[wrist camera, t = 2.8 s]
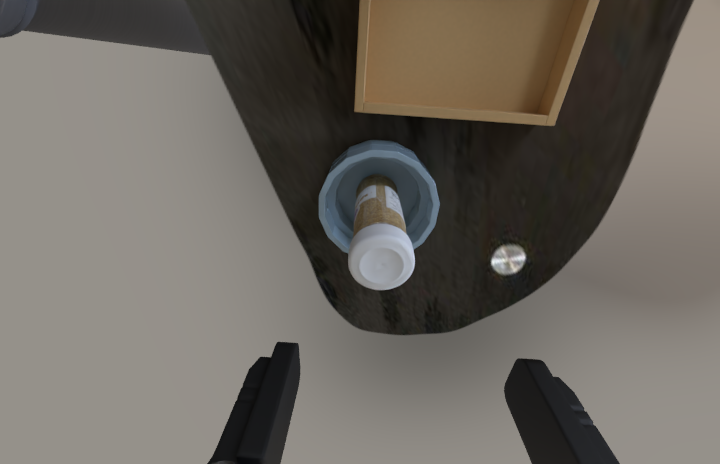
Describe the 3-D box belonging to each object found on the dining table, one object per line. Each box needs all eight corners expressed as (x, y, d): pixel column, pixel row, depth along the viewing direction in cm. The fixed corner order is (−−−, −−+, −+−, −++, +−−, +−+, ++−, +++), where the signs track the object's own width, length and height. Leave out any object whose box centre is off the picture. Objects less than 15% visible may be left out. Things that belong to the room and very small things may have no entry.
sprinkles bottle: (353, 175, 30) (342, 239, 18) (397, 170, 30) (415, 233, 18) (358, 215, 32) (352, 295, 20) (399, 211, 32) (417, 290, 20)
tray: (355, 109, 28) (354, 112, 25) (365, -92, 21) (364, -113, 19) (539, 122, 28) (554, 126, 25) (605, -75, 21) (633, -93, 19)
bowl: (325, 233, 34) (319, 256, 30) (326, 135, 29) (318, 145, 24) (419, 240, 34) (427, 264, 30) (437, 143, 29) (450, 155, 24)
